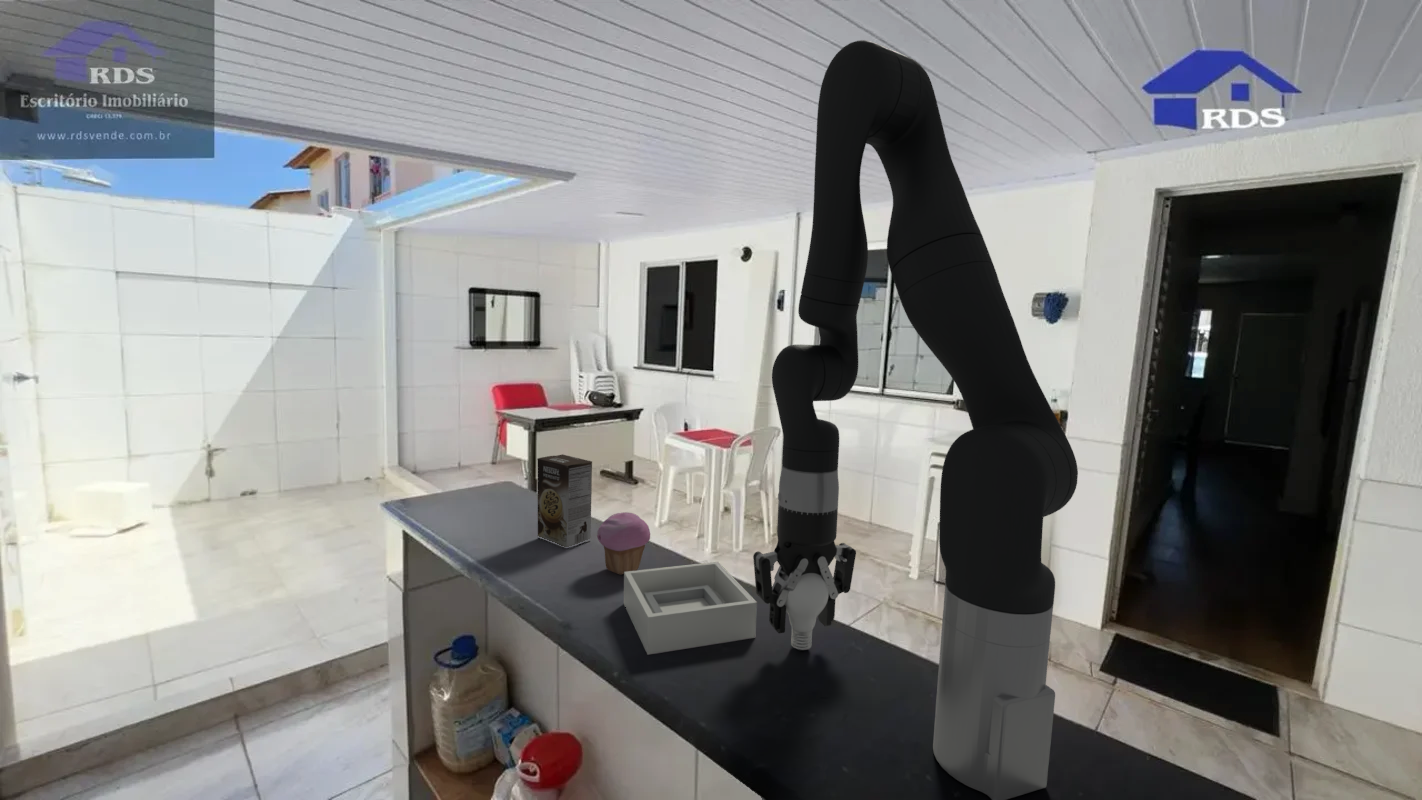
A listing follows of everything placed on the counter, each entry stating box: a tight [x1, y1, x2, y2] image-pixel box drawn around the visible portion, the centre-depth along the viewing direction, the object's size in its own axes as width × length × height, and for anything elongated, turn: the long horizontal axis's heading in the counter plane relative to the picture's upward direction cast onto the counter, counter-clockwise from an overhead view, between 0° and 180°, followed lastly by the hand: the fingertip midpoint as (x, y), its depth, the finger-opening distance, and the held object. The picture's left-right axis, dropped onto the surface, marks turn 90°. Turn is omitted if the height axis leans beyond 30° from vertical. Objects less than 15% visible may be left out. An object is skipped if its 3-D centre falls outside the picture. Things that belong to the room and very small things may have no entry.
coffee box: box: [536, 453, 593, 547], centre depth 115 cm, size 9×6×16 cm
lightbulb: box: [780, 573, 829, 652], centre depth 77 cm, size 6×6×11 cm
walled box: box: [623, 561, 758, 656], centre depth 85 cm, size 15×15×5 cm
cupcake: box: [596, 511, 651, 575], centre depth 102 cm, size 9×9×10 cm
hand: (802, 626), depth 78 cm, fingers closed on lightbulb, 6 cm apart
